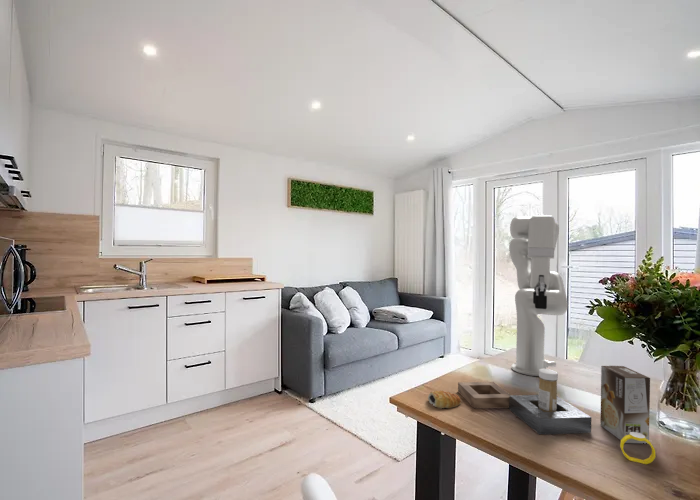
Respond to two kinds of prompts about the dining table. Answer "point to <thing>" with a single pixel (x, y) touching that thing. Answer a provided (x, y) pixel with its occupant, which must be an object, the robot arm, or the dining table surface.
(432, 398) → the pastry
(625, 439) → the watch
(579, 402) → the dining table surface
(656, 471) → the dining table surface
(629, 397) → the coffee box
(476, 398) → the holder ring
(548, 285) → the robot arm
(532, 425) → the block
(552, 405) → the sprinkles bottle
